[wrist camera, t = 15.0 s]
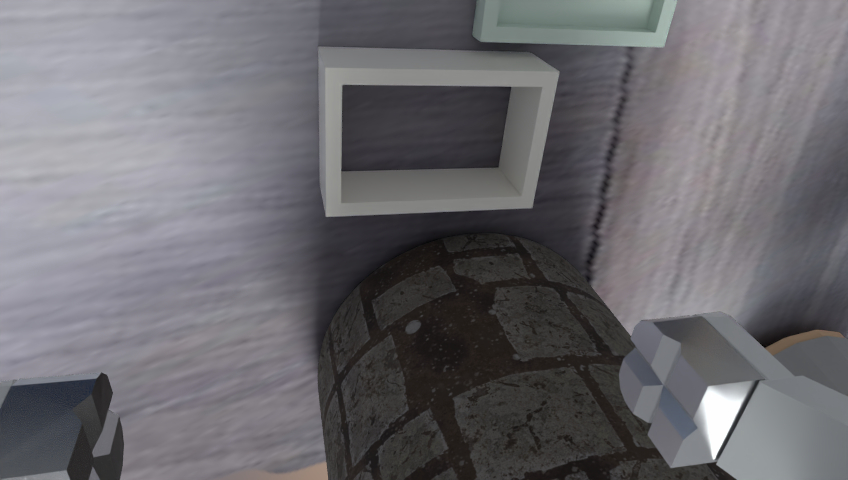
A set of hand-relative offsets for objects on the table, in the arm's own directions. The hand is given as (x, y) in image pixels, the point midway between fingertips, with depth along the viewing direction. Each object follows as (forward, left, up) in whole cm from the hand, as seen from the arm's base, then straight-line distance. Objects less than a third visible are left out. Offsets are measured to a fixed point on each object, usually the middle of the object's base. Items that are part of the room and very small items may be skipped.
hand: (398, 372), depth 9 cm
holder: (+9, -8, -33) cm, 35 cm away
